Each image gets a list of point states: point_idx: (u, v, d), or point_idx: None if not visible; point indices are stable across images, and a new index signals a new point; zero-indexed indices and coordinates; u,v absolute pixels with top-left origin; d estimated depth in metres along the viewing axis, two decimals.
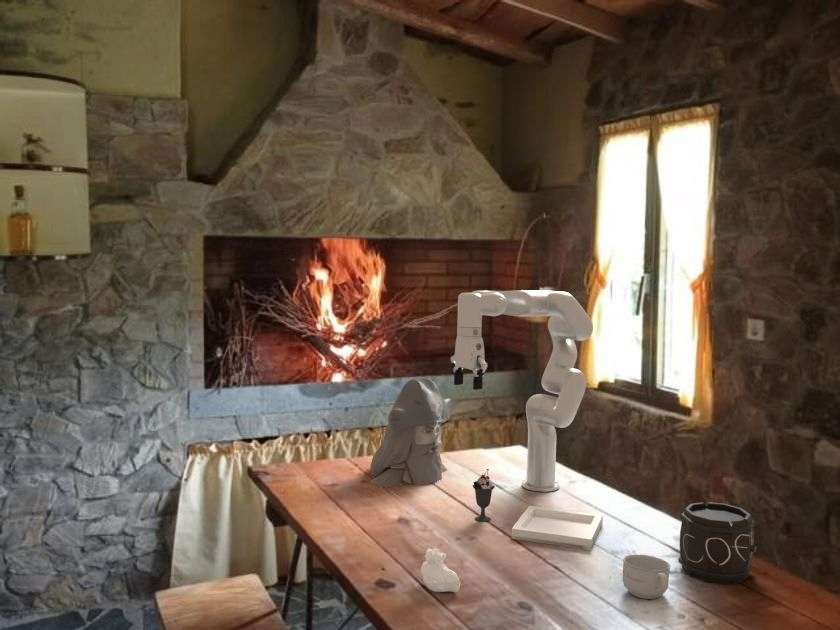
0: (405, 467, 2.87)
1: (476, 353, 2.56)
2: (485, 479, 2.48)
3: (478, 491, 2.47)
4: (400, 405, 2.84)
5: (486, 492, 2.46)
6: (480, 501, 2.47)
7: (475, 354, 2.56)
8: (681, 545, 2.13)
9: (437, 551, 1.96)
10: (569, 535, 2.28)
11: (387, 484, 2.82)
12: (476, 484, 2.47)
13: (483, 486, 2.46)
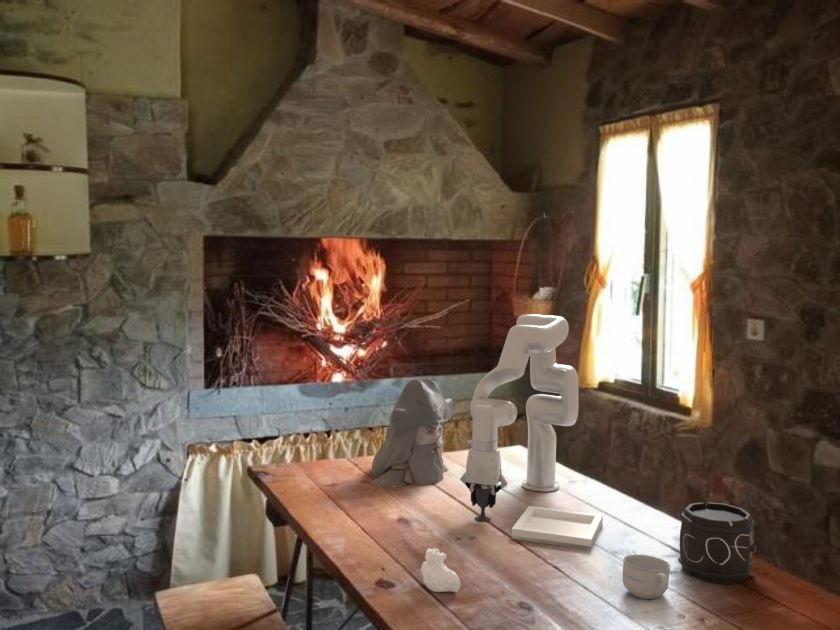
0: (406, 468, 2.86)
1: None
2: None
3: (478, 491, 2.47)
4: (402, 405, 2.83)
5: (486, 492, 2.46)
6: (480, 501, 2.47)
7: None
8: (681, 545, 2.13)
9: (437, 551, 1.96)
10: (569, 535, 2.28)
11: (389, 484, 2.81)
12: (476, 484, 2.47)
13: (483, 486, 2.47)
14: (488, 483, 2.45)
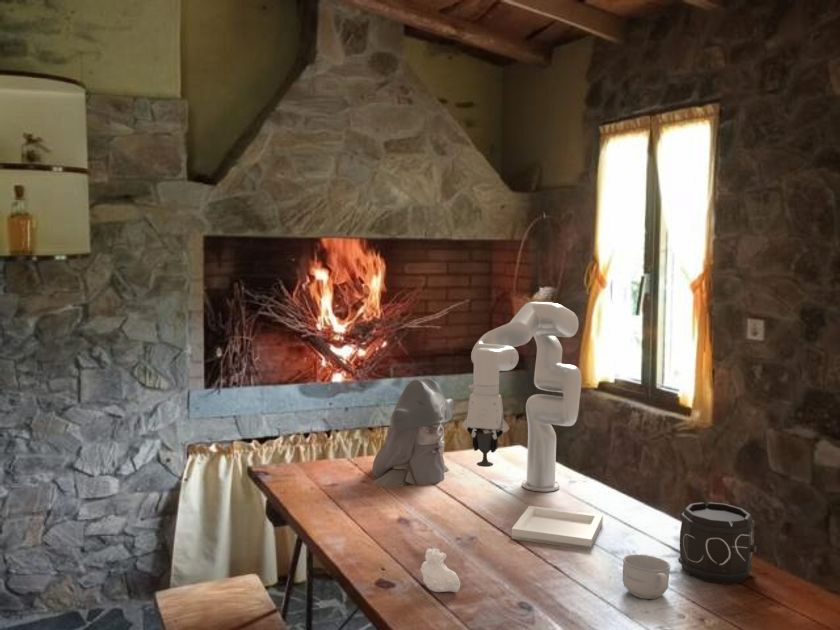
0: (407, 468, 2.86)
1: None
2: None
3: (480, 436, 2.45)
4: (403, 405, 2.83)
5: (487, 436, 2.45)
6: (482, 446, 2.46)
7: None
8: (681, 545, 2.13)
9: (437, 551, 1.96)
10: (569, 535, 2.28)
11: (390, 485, 2.81)
12: (478, 429, 2.46)
13: (485, 431, 2.45)
14: (490, 427, 2.44)
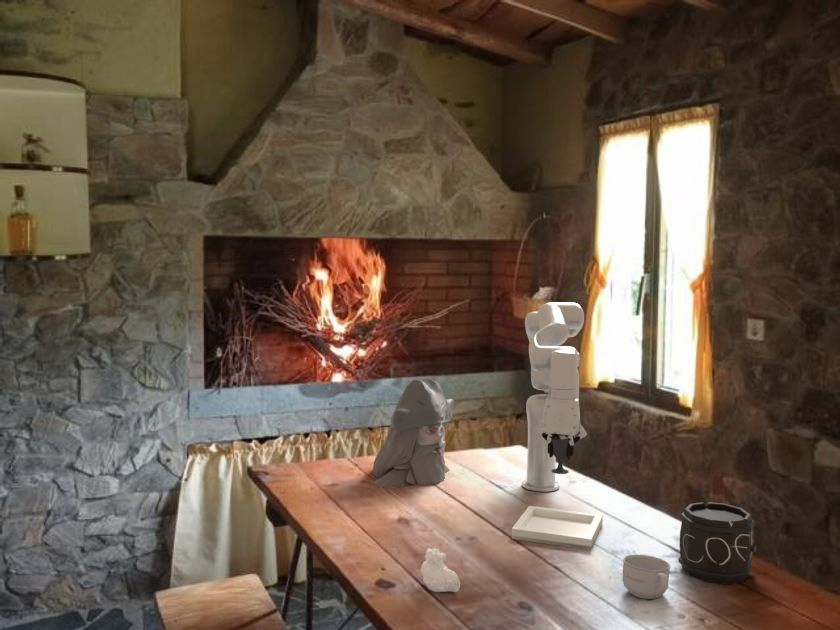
0: (408, 468, 2.86)
1: None
2: None
3: (556, 442, 2.35)
4: (404, 406, 2.83)
5: (564, 442, 2.35)
6: (558, 452, 2.36)
7: None
8: (681, 545, 2.13)
9: (437, 551, 1.96)
10: (569, 535, 2.28)
11: (391, 485, 2.81)
12: (554, 434, 2.36)
13: (561, 436, 2.35)
14: (567, 433, 2.34)
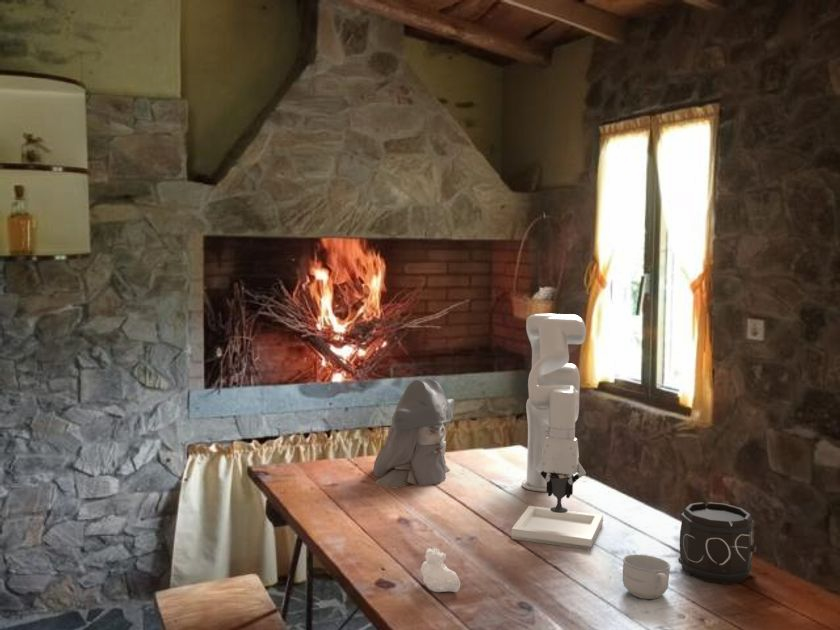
0: (409, 468, 2.86)
1: None
2: None
3: (555, 480, 2.36)
4: (404, 406, 2.83)
5: (563, 481, 2.36)
6: (557, 491, 2.37)
7: None
8: (681, 545, 2.13)
9: (437, 551, 1.96)
10: (569, 535, 2.28)
11: (392, 485, 2.81)
12: (552, 473, 2.37)
13: (560, 475, 2.36)
14: (566, 472, 2.35)
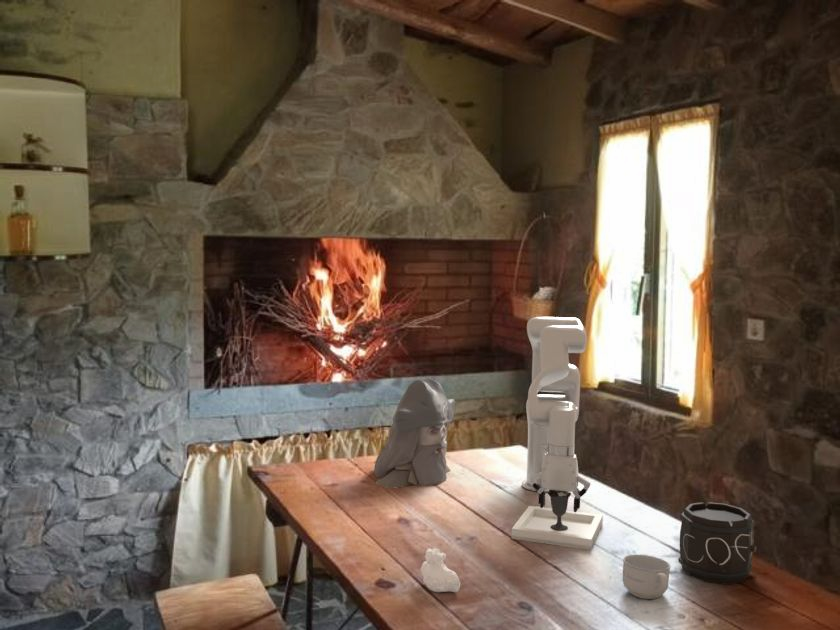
0: (410, 468, 2.85)
1: None
2: None
3: (554, 498, 2.37)
4: (405, 406, 2.83)
5: (562, 499, 2.37)
6: (556, 509, 2.38)
7: None
8: (681, 545, 2.13)
9: (437, 551, 1.96)
10: (569, 535, 2.28)
11: (393, 485, 2.80)
12: (552, 491, 2.38)
13: (559, 493, 2.37)
14: (565, 489, 2.35)
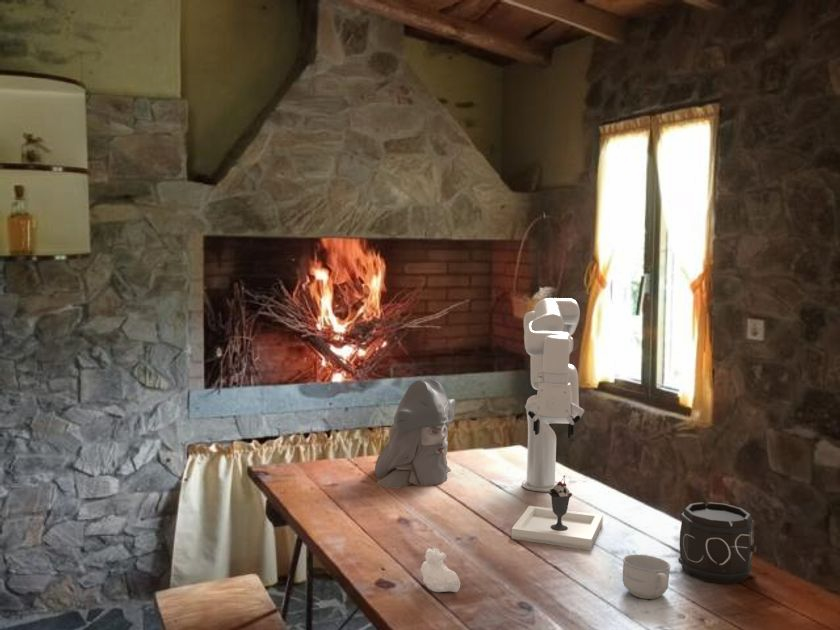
0: (411, 469, 2.85)
1: None
2: (562, 486, 2.38)
3: (555, 499, 2.37)
4: (406, 406, 2.82)
5: (563, 500, 2.37)
6: (557, 509, 2.38)
7: None
8: (681, 545, 2.13)
9: (437, 551, 1.96)
10: (569, 535, 2.28)
11: (394, 485, 2.80)
12: (553, 491, 2.38)
13: (560, 493, 2.37)
14: (560, 416, 2.41)
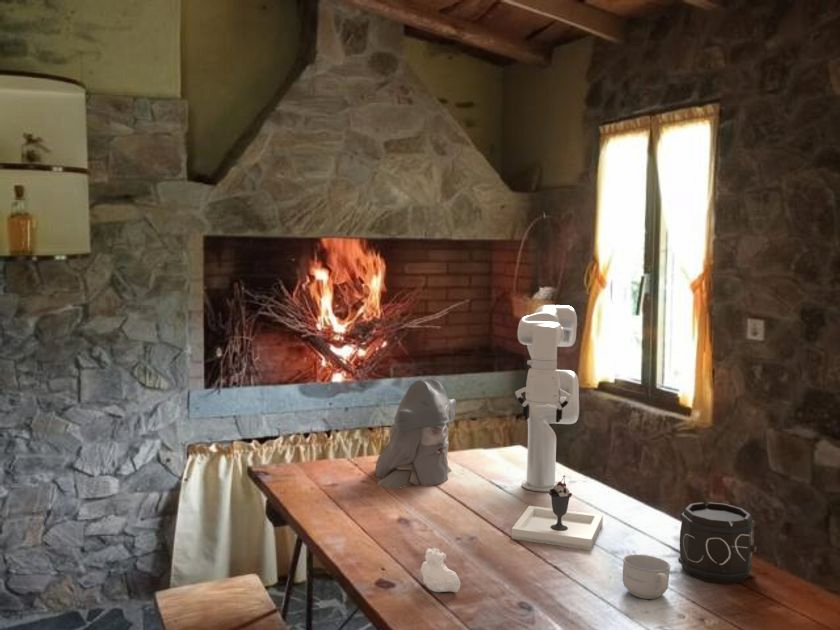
0: (411, 469, 2.85)
1: None
2: (562, 486, 2.38)
3: (555, 499, 2.37)
4: (407, 406, 2.82)
5: (563, 500, 2.37)
6: (557, 509, 2.38)
7: None
8: (681, 545, 2.13)
9: (437, 551, 1.96)
10: (569, 535, 2.28)
11: (394, 486, 2.80)
12: (553, 491, 2.38)
13: (560, 493, 2.37)
14: (548, 401, 2.52)
